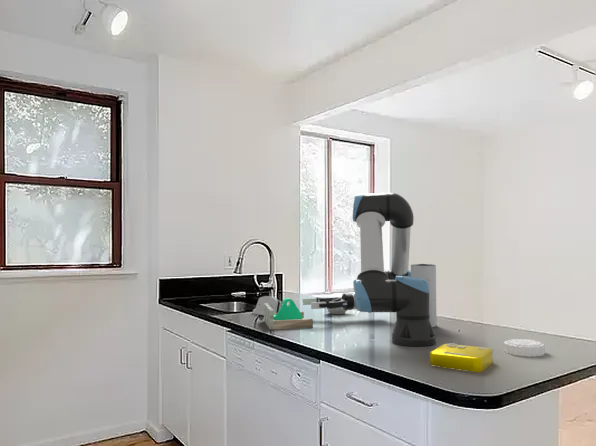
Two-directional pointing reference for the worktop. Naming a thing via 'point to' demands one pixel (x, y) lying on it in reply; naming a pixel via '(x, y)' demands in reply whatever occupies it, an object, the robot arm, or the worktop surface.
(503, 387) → the worktop surface
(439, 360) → the element tile
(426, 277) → the speaker
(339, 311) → the teacup
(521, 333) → the worktop surface
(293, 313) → the camera mount
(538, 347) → the mooncake
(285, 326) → the dock
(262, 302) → the grey rounded piece
